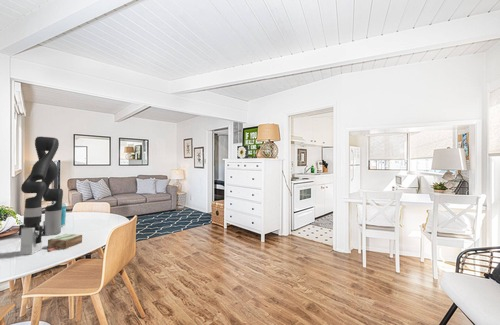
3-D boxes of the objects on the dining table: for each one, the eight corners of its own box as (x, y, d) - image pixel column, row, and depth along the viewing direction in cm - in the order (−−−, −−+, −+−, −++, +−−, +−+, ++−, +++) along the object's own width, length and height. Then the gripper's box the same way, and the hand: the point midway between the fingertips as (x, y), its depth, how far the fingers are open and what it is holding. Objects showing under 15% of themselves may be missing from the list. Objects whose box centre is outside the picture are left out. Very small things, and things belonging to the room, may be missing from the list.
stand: (47, 247, 137) (48, 239, 137) (65, 241, 149) (65, 233, 149) (65, 249, 136) (66, 240, 136) (82, 242, 148) (82, 234, 148)
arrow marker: (51, 251, 131) (51, 250, 131) (46, 251, 131) (46, 249, 131) (59, 248, 137) (59, 246, 137) (55, 248, 137) (55, 246, 137)
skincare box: (32, 254, 126) (33, 228, 127) (19, 255, 125) (20, 228, 125) (42, 249, 135) (43, 224, 135) (30, 249, 133) (31, 224, 134)
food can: (56, 229, 175) (57, 206, 175) (41, 228, 174) (42, 205, 175) (68, 225, 187) (69, 203, 187) (54, 224, 186) (55, 203, 187)
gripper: (14, 216, 127) (13, 244, 127) (37, 217, 126) (36, 245, 126) (28, 213, 135) (27, 240, 134) (50, 214, 133) (49, 241, 133)
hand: (31, 242), depth 130 cm, fingers open, 8 cm apart
